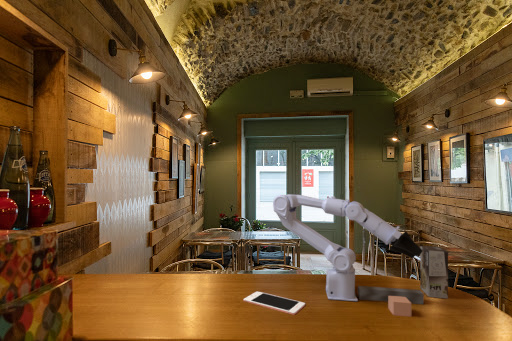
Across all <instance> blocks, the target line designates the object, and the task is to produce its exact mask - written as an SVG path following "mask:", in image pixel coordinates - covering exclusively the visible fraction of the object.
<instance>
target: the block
mask: <svg viewBox="0 0 512 341" xmlns="http://www.w3.org/2000/svg"><path fill="white" fill-rule="evenodd" d="M387 303H388V304H387V308H388V310H389V311H390V313H391V314H392V315H393V316H401V317H402V316H403V317H412V303H411V302H410V301H409V300H408V299H407V298H406V297H400V296H388V301H387Z"/></svg>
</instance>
